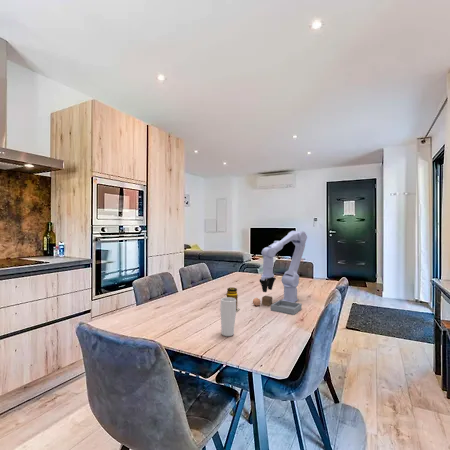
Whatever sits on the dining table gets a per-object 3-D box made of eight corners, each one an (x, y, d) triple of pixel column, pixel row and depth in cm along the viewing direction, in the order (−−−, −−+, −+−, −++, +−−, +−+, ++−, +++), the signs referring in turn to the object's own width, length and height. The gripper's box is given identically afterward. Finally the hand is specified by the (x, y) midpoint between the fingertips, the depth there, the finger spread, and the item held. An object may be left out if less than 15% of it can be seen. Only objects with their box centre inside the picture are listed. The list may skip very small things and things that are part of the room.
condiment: (234, 313, 150) (234, 290, 150) (220, 310, 154) (220, 288, 154) (240, 309, 157) (240, 287, 156) (226, 306, 161) (227, 285, 161)
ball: (254, 304, 168) (254, 296, 168) (261, 305, 165) (261, 297, 165) (251, 305, 164) (251, 298, 164) (258, 307, 162) (258, 299, 162)
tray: (279, 305, 167) (279, 299, 167) (301, 309, 160) (301, 303, 160) (270, 310, 156) (271, 305, 156) (293, 315, 149) (293, 309, 149)
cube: (265, 303, 171) (265, 295, 171) (272, 304, 168) (272, 296, 168) (261, 304, 167) (262, 297, 167) (269, 306, 164) (269, 298, 164)
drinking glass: (235, 331, 125) (235, 297, 124) (236, 337, 118) (237, 301, 118) (219, 331, 124) (220, 297, 124) (219, 337, 118) (220, 301, 117)
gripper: (266, 265, 176) (266, 287, 176) (256, 268, 163) (255, 292, 164) (277, 266, 172) (276, 289, 172) (267, 269, 160) (267, 293, 160)
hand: (267, 290), depth 167 cm, fingers open, 7 cm apart
